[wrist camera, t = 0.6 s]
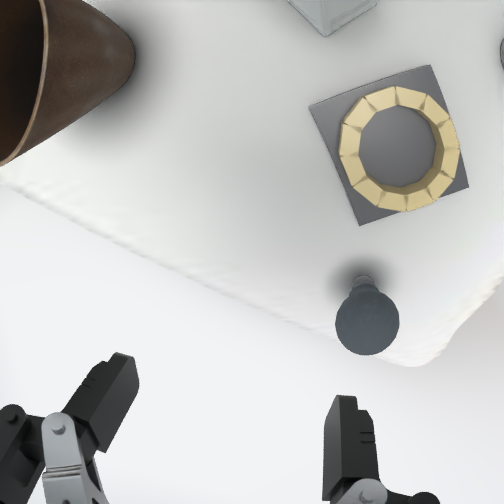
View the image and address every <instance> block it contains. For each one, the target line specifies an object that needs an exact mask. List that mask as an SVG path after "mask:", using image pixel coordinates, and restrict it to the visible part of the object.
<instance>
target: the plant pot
mask: <svg viewBox="0 0 504 504" xmlns="http://www.w3.org/2000/svg"><path fill="white" fill-rule="evenodd" d="M134 62H135V49H134V45H133V43H132V41H131V39H130V38H129V37H128V36H127V34H126V33H125V32H124V31H123V30H122V29H121V28H120V27H119V26H118V25H116V24H115V23H114V22H113V21H112V20H111V19H109V18H108V17H107V16H105V15H104V14H103V13H101V12H100V11H98V10H97V9H95V8H94V7H92V6H91V5H89V4H87V3H86V2H84V1H82V0H0V167H1V166H3V165H5V164H7V163H8V162H10V161H12V160H13V159H15V158H16V157H18V156H20V155H22V154H23V153H25V152H26V151H28V150H30V149H31V148H33V147H35V146H36V145H38V144H40V143H42V142H43V141H45V140H46V139H48V138H50V137H51V136H53V135H54V134H56V133H57V132H59V131H61V130H62V129H64V128H65V127H67V126H68V125H70V124H71V123H73V122H74V121H76V120H77V119H79V118H80V117H82V116H83V115H85V114H86V113H88V112H89V111H91V110H92V109H94V108H95V107H96V106H98V105H99V104H100V103H102V102H103V101H104V100H106V99H107V98H108V97H109V96H111V95H112V94H113V93H114V92H116V91H117V90H118V89H119V88H120V87H122V86H123V85H124V83H125V82H126V81H127V80H128V78H129V77H130V75H131V73H132V70H133V67H134Z"/></svg>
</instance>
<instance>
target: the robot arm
mask: <svg viewBox="0 0 504 504" xmlns="http://www.w3.org/2000/svg"><path fill="white" fill-rule="evenodd" d="M138 389H139V378H138V373H137V369H136V365H135V360H134V358H133V357H131V356H128V355H125V354H121V353H118V352H116V353H114V354H113V355H112V357H111V358H110V360H109V361H108V362H105V361H102V362H100V363H99V364H97V365H96V366H94V367H93V368H92V369H91V371H90V372H89V373H88V375H87V377H86V378H85V379H84V381H83V382H82V385H80V386H79V387H78V389H77V390H76V392H75V393H74V394H73V396H72V397H71V399H70V400H69V402H68V403H67V405H66V406H65V408H64V409H63V410H62V411H61V412H58V413H52V414H50V415H48V416H47V417H46V418H45V417H38V416H32V415H27V414H26V413H25V411H24V410H23V409H22V407H20V406H18V405H15V404H10V405H7V406H5V407H3V408H2V409H1V410H0V504H27V502H28V500H29V498H30V496H31V494H32V492H33V489H34V488H35V485H36V483H37V481H38V479H39V477H40V475H41V473H42V471H43V470H44V468H45V466H46V472H44V473H43V474H42V481H43V487H44V493H45V498H46V503H47V504H109V502H108V501H107V499H106V496H105V494H104V491H103V488H102V484H101V481H100V478H99V474H98V471H97V467H96V463H95V459H94V454H95V452H96V450H99V451H101V452H104V453H106V451H107V449H108V448H109V446H110V444H111V442H112V440H113V438H114V436H115V434H116V432H117V430H118V428H119V427H120V425H121V423H122V421H123V419H124V417H125V416H126V413H127V412H128V410H129V408H130V406H131V404H132V403H133V401H134V399H135V397H136V395H137V393H138ZM322 500H323V501H330V504H440V502H439V500H438V498H437V497H436V496H435V495H433V494H432V493H429V492H420V493H417V494H415V495H414V496H407V495H402V494H398V493H394V492H391V491H389V490H388V489H386V488H385V487H384V485H383V484H382V483H381V481H380V478H379V472H378V461H377V451H376V444H375V435H374V425H373V420H372V418H371V417H370V415H369V413H368V412H367V410H358V405H357V398H356V397H355V396H344V395H343V396H342V395H336V397H335V399H334V401H333V404H332V406H331V408H330V410H329V413H328V415H327V417H326V420H325V425H324V460H323V492H322Z"/></svg>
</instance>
